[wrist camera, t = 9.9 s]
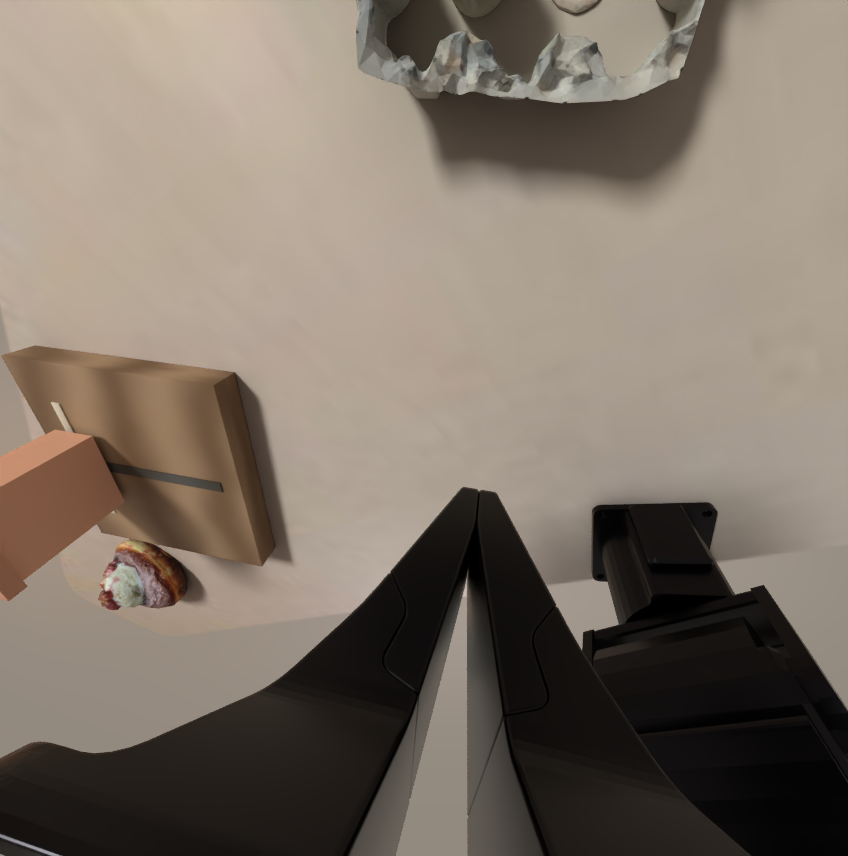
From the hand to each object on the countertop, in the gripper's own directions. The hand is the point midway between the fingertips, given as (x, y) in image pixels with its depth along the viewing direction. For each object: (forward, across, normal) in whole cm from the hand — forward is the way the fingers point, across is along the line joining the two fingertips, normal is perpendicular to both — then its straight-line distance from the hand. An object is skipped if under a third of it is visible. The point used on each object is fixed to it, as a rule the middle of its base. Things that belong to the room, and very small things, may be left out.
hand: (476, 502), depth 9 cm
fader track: (+12, +23, +11) cm, 28 cm away
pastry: (+12, +30, +26) cm, 42 cm away
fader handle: (+10, +27, +11) cm, 31 cm away
